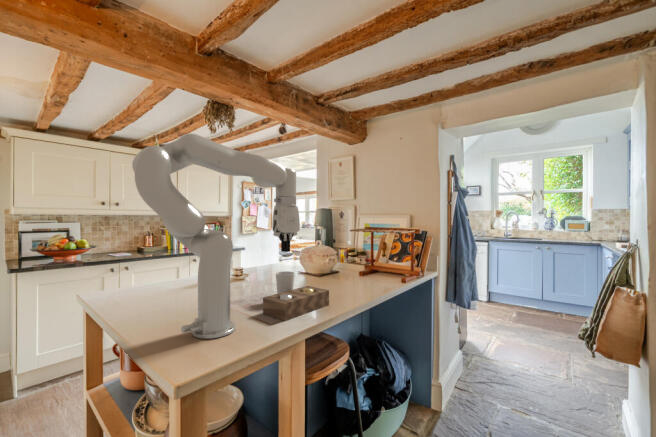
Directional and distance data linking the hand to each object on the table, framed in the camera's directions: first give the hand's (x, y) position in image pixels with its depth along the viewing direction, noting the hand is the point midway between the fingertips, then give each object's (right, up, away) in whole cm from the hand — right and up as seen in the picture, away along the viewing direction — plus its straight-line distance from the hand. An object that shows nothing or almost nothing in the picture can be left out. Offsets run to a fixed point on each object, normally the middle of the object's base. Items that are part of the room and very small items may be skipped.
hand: (285, 251), depth 109 cm
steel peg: (0, -22, 0) cm, 22 cm away
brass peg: (+8, -22, +9) cm, 25 cm away
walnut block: (+4, -23, +5) cm, 24 cm away
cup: (-2, -23, +15) cm, 28 cm away
